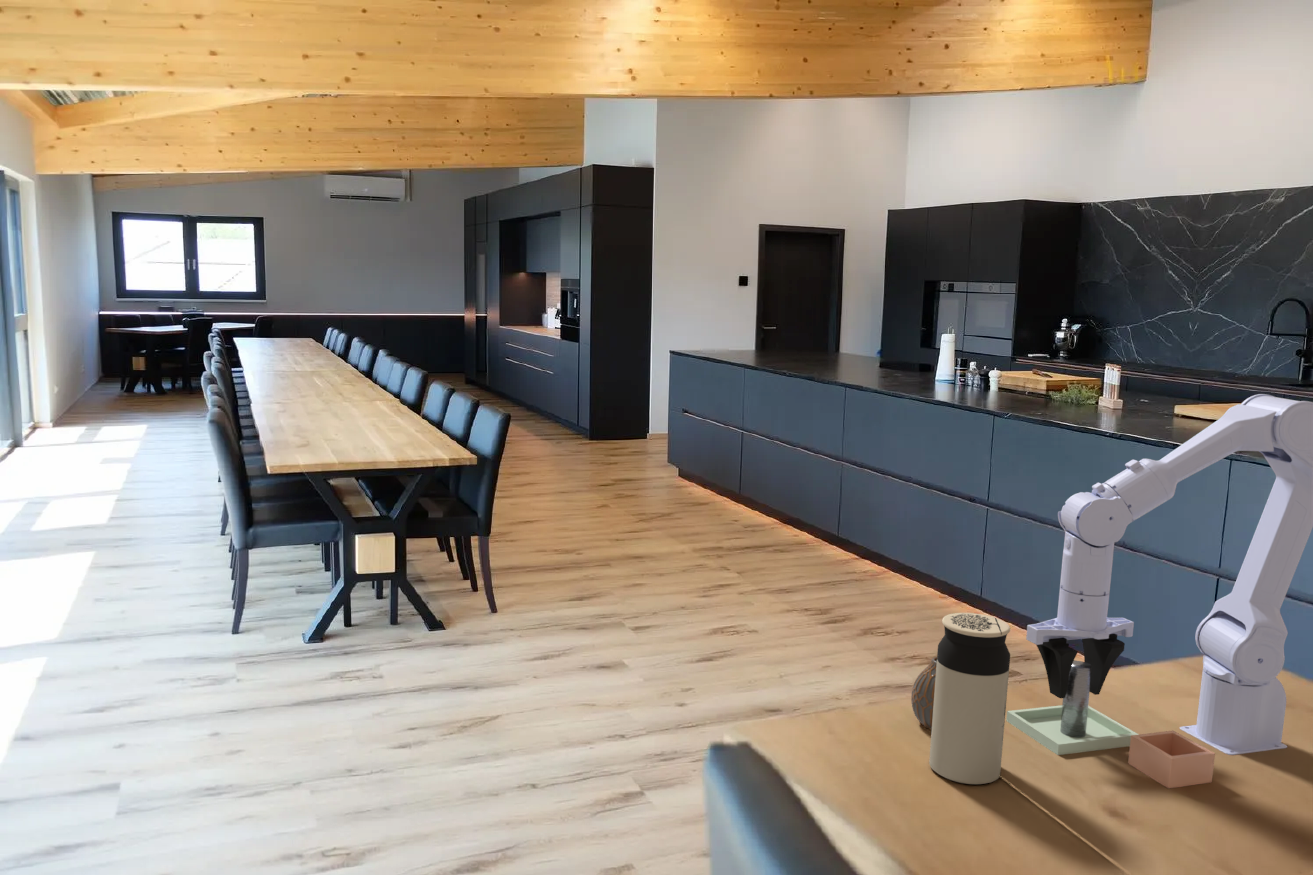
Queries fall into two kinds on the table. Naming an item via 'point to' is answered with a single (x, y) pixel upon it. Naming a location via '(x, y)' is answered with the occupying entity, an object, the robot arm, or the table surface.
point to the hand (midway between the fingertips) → (1074, 693)
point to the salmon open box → (1171, 759)
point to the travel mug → (970, 699)
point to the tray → (1047, 732)
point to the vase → (924, 694)
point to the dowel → (1076, 701)
